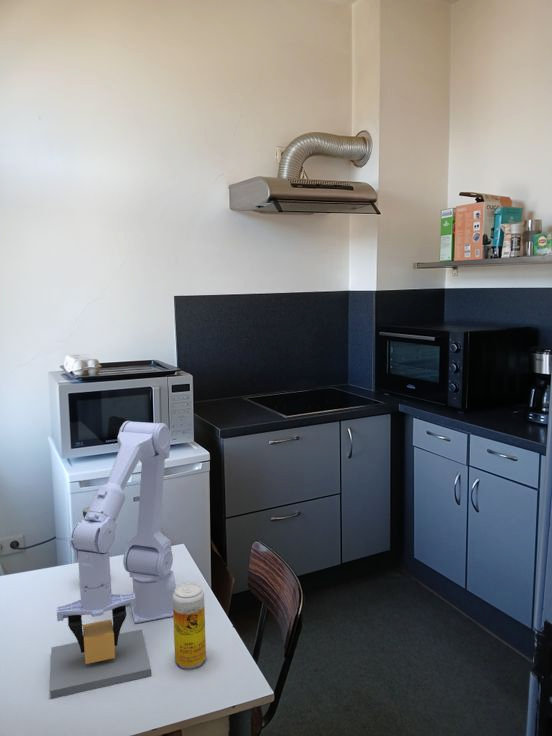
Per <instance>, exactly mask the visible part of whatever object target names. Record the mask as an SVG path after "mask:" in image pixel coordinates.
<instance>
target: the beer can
mask: <svg viewBox="0 0 552 736" xmlns="http://www.w3.org/2000/svg"><path fill="white" fill-rule="evenodd" d="M205 611H206V610H205V592H204V591H203V588H202V586H201V585H200V584H197V583H193V582H188V583H182V584H180V585H178V586H176V589H175V592H174V594H173V616H172V617H173V640H174V642H173V643H174V660H175V662H176V663H177V664H178V666H179V667H180V668H183V669H189V670H190V669H194V668H195V669H196V668H199V666H201V665H202V664H203V662H204V661H205V659H206V658H207V651H206V650H207V648H206V647H207V646H206V645H207V643H206V617H205V616H206V615H205V614H206V613H205Z"/></svg>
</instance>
